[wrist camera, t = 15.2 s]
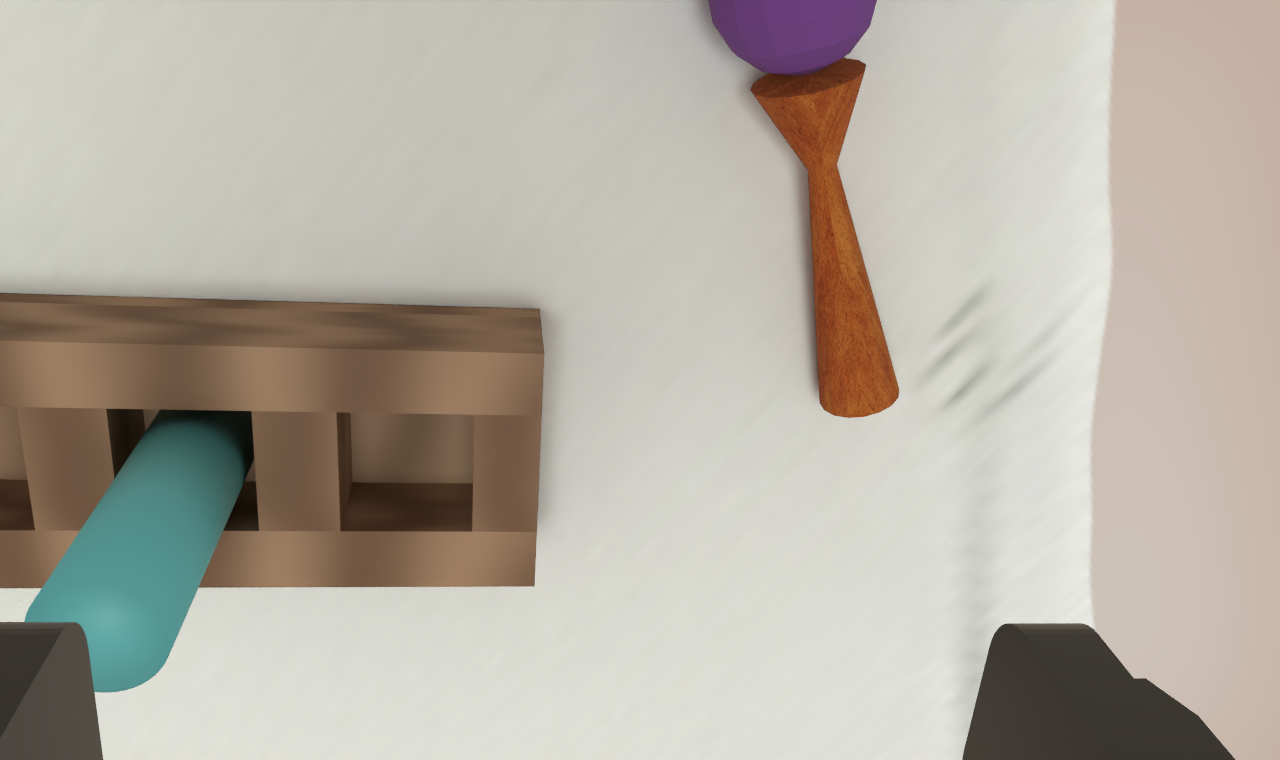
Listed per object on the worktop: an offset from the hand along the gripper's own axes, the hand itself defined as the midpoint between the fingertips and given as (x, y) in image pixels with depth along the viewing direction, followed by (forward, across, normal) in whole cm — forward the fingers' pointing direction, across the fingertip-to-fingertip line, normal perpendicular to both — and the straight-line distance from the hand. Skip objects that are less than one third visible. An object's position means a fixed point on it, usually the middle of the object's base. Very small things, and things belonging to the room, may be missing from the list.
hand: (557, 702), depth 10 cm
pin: (+34, +11, +14) cm, 39 cm away
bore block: (+35, +11, +14) cm, 40 cm away
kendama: (+36, -12, +2) cm, 38 cm away
